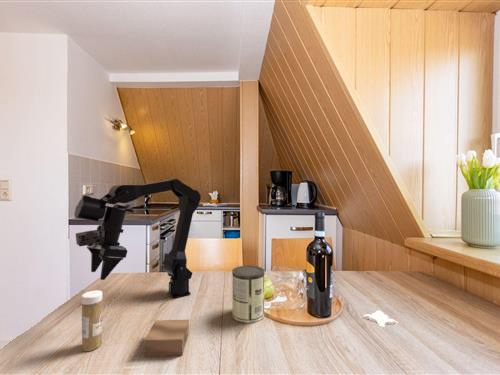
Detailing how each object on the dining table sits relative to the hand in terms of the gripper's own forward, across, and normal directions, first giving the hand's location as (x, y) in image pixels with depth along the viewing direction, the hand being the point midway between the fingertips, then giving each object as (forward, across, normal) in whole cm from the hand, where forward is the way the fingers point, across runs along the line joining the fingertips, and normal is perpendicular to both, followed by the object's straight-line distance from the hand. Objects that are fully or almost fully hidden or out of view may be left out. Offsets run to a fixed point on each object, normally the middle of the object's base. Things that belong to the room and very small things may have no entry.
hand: (97, 275), depth 78 cm
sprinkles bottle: (+14, +13, -1) cm, 19 cm away
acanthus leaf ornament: (-2, +60, +63) cm, 87 cm away
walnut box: (+11, +26, +12) cm, 30 cm away
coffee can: (+4, +29, +37) cm, 47 cm away
